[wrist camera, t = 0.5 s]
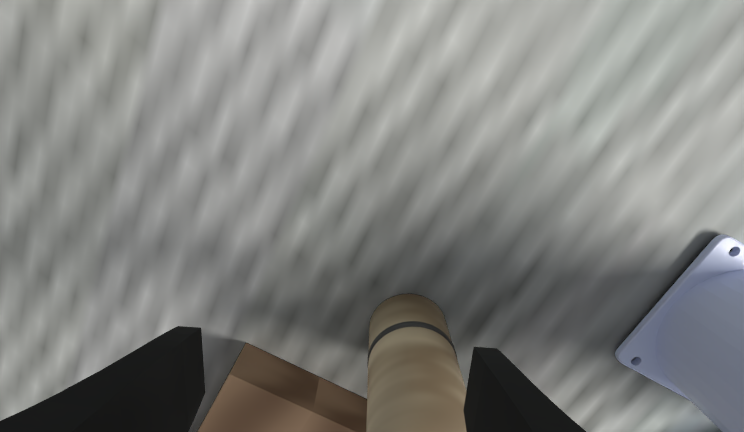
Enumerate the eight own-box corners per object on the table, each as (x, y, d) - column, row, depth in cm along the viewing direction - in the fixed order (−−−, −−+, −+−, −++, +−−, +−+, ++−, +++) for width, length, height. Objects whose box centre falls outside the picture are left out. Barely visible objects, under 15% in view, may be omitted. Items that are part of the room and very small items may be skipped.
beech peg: (461, 315, 21) (510, 444, 13) (420, 372, 22) (443, 523, 14) (393, 280, 20) (404, 394, 13) (355, 340, 21) (342, 479, 14)
